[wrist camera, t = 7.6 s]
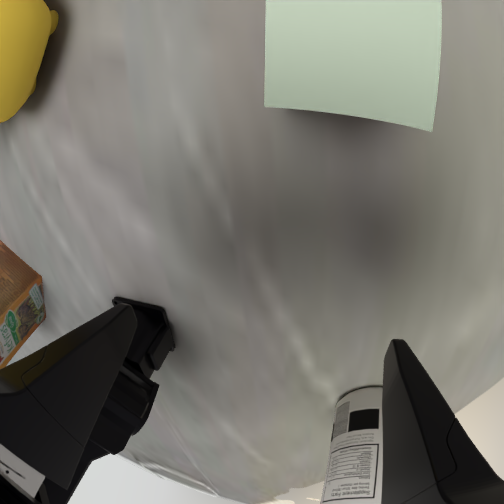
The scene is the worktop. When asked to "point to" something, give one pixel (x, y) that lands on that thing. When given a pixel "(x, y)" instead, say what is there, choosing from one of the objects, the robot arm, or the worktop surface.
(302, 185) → the worktop surface
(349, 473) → the supplement can
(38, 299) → the milk carton
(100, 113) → the worktop surface
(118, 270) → the worktop surface
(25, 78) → the teapot
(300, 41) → the sage cube
